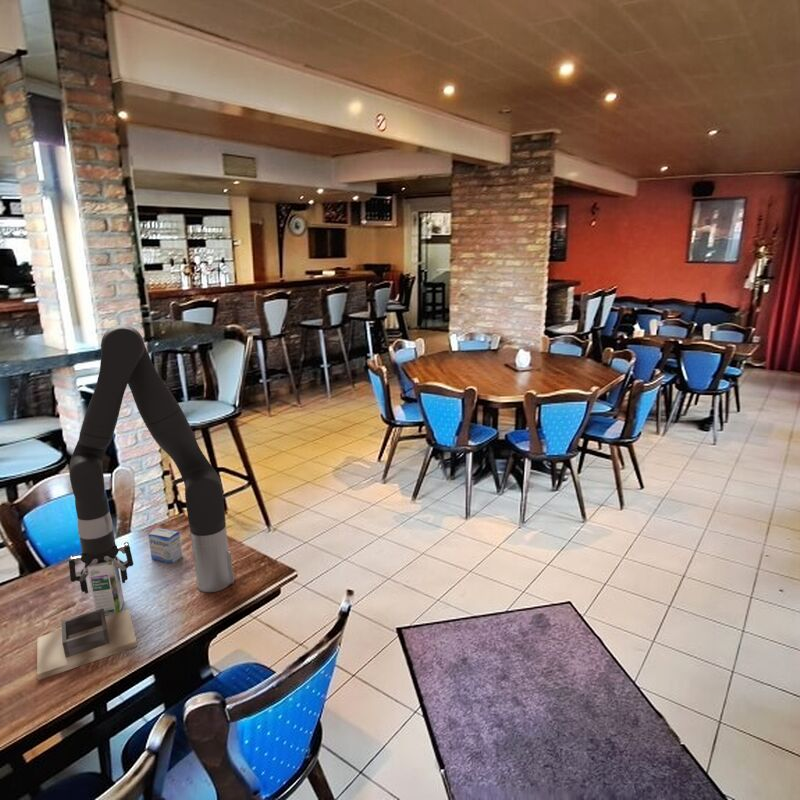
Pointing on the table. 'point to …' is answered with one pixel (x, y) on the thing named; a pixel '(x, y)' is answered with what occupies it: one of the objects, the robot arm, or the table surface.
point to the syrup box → (106, 587)
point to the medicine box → (165, 545)
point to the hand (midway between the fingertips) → (105, 586)
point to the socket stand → (84, 641)
